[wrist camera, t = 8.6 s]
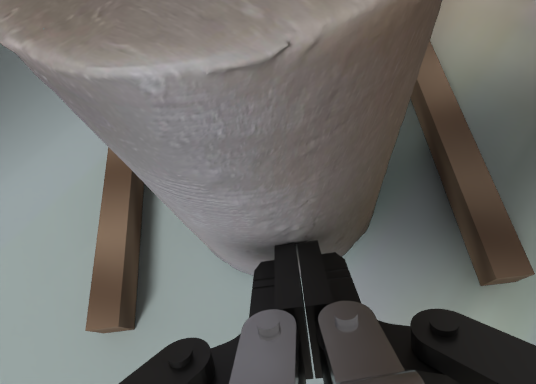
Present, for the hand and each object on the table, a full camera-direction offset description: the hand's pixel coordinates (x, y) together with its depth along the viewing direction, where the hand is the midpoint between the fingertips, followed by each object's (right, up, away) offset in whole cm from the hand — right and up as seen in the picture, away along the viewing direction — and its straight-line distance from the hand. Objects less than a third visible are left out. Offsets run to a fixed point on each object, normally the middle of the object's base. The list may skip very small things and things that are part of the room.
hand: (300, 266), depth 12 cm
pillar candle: (-1, +2, +7) cm, 7 cm away
